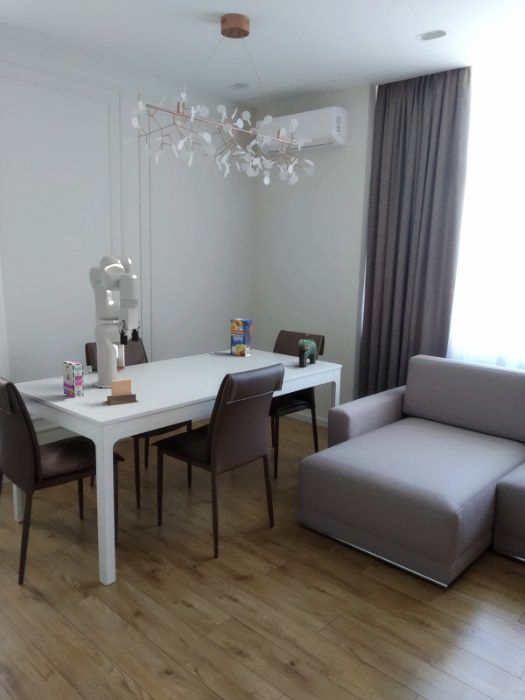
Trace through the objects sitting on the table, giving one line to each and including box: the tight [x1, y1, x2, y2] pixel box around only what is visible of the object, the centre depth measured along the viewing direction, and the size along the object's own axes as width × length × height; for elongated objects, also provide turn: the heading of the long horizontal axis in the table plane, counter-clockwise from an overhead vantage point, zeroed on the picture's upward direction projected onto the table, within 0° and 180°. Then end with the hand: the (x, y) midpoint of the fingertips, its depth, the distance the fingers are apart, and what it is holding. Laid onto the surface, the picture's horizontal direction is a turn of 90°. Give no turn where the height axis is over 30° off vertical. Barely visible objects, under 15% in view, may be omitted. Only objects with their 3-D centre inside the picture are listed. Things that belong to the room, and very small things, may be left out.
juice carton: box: [230, 318, 253, 357], centre depth 368 cm, size 12×8×24 cm, turn 60°
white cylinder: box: [94, 309, 125, 374], centre depth 308 cm, size 11×11×35 cm
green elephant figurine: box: [297, 333, 318, 369], centre depth 339 cm, size 20×6×20 cm, turn 148°
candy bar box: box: [62, 359, 84, 399], centre depth 254 cm, size 11×5×16 cm, turn 45°
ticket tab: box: [110, 378, 132, 397], centre depth 244 cm, size 3×8×10 cm, turn 121°
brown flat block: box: [103, 392, 140, 407], centre depth 245 cm, size 8×14×4 cm, turn 121°
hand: (129, 342), depth 237 cm, fingers open, 9 cm apart
